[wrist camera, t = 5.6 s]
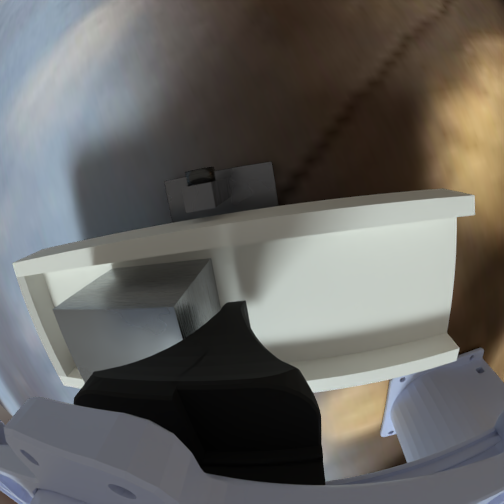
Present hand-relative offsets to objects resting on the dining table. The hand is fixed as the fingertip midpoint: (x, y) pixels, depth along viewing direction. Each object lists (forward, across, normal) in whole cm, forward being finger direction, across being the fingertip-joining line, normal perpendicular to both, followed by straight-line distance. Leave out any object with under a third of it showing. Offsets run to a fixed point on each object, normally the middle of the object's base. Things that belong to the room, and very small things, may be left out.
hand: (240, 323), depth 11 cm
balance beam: (+2, +1, 0) cm, 2 cm away
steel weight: (+1, +4, 0) cm, 4 cm away
